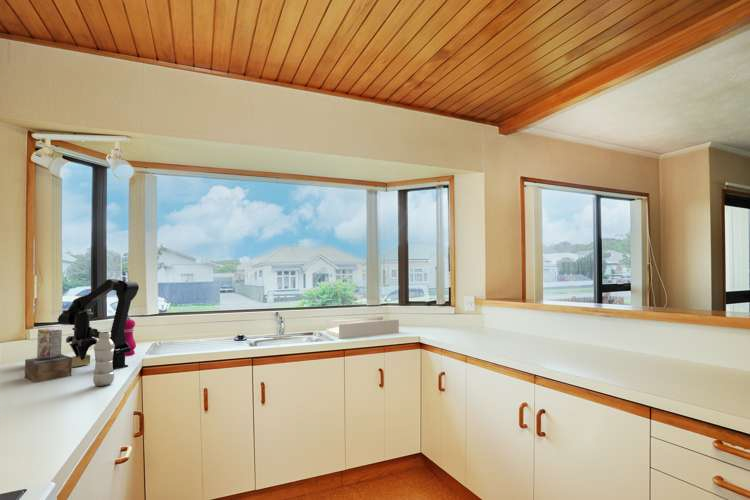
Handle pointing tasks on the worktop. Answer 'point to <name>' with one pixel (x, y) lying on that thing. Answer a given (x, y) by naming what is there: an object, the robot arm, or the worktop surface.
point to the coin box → (48, 368)
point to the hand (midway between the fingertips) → (80, 359)
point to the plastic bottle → (104, 360)
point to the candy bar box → (49, 342)
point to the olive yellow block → (78, 362)
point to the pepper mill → (130, 336)
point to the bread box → (361, 327)
